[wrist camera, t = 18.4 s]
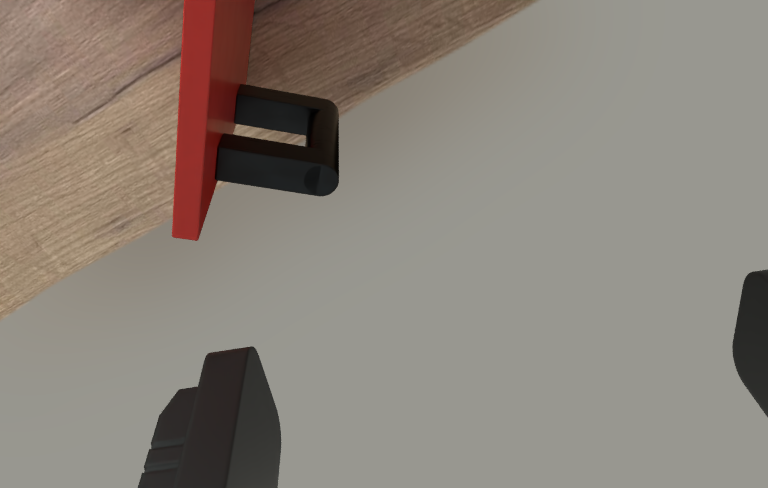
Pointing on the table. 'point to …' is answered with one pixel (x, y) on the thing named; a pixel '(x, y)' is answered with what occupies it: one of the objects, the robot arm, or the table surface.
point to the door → (240, 120)
